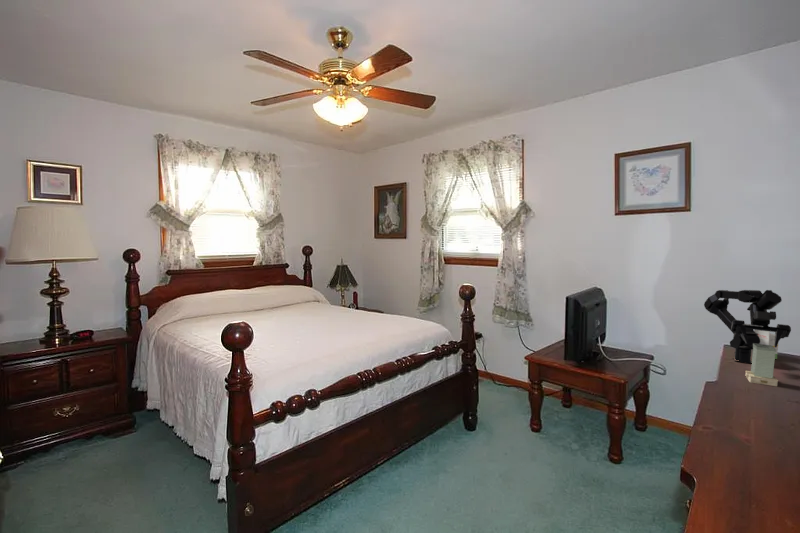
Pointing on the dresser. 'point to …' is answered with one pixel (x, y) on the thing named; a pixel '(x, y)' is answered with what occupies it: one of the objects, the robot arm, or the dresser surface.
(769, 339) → the ink box
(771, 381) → the jewelry box
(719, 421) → the dresser surface
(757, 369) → the green lidded box
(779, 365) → the dresser surface
